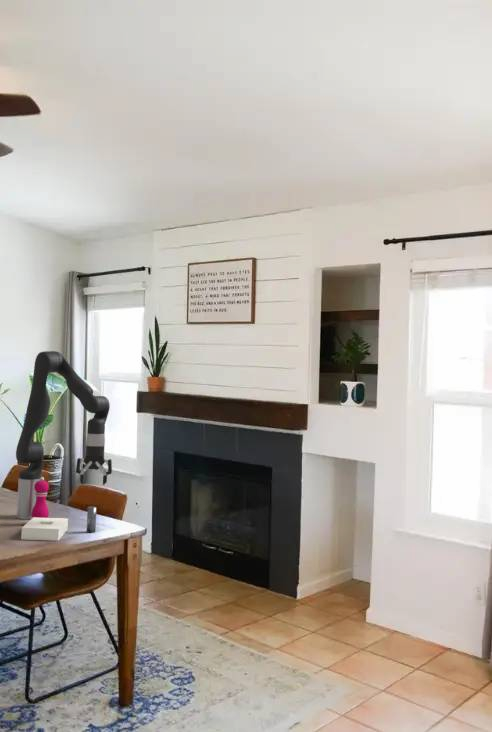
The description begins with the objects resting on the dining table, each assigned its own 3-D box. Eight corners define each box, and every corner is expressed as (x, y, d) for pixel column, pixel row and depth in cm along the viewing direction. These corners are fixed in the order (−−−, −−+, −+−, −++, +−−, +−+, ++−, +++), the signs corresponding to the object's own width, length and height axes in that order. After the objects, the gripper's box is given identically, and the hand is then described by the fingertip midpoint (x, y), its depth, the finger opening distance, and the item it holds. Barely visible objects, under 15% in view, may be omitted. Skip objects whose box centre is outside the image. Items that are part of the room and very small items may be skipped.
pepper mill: (30, 526, 298) (33, 478, 299) (30, 522, 305) (33, 475, 306) (48, 526, 300) (51, 478, 301) (48, 522, 307) (50, 475, 308)
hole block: (32, 528, 295) (33, 517, 295) (67, 529, 296) (68, 518, 296) (21, 539, 275) (21, 527, 275) (58, 540, 276) (58, 528, 276)
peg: (87, 530, 295) (88, 506, 295) (95, 531, 295) (97, 506, 296) (85, 532, 292) (87, 508, 292) (94, 533, 292) (96, 508, 292)
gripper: (113, 444, 298) (111, 483, 298) (79, 443, 297) (77, 482, 297) (111, 446, 291) (109, 486, 290) (76, 444, 290) (74, 484, 289)
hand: (93, 484), depth 294 cm, fingers open, 8 cm apart
